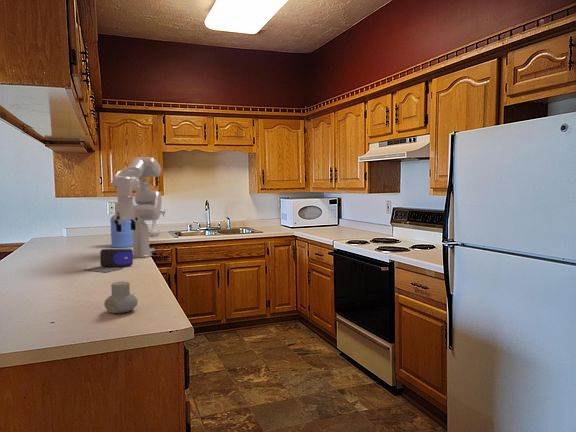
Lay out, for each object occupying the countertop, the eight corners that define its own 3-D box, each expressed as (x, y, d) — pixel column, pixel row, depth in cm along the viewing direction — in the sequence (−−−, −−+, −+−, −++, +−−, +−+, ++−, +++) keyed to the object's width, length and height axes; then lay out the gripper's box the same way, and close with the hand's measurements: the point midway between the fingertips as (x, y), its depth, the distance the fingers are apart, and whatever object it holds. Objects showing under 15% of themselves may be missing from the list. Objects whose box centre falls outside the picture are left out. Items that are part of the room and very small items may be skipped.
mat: (101, 266, 238) (101, 265, 237) (122, 269, 230) (122, 268, 230) (84, 270, 228) (84, 269, 228) (105, 272, 220) (105, 272, 220)
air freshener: (101, 311, 153) (100, 283, 152) (122, 306, 160) (120, 279, 159) (120, 316, 147) (119, 287, 146) (141, 310, 154) (140, 282, 153)
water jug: (127, 248, 305) (126, 208, 303) (106, 248, 308) (105, 208, 306) (138, 245, 321) (137, 206, 319) (118, 244, 323) (117, 206, 321)
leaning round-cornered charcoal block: (99, 267, 230) (99, 249, 230) (100, 266, 235) (100, 249, 234) (132, 266, 236) (132, 249, 235) (132, 265, 240) (132, 248, 240)
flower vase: (168, 236, 375) (167, 206, 373) (145, 237, 366) (144, 207, 364) (164, 234, 386) (163, 206, 384) (142, 236, 377) (141, 206, 376)
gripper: (132, 198, 248) (133, 228, 249) (106, 200, 233) (108, 232, 234) (142, 198, 244) (143, 229, 246) (116, 200, 229) (117, 232, 230)
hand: (126, 230), depth 240 cm, fingers open, 9 cm apart
